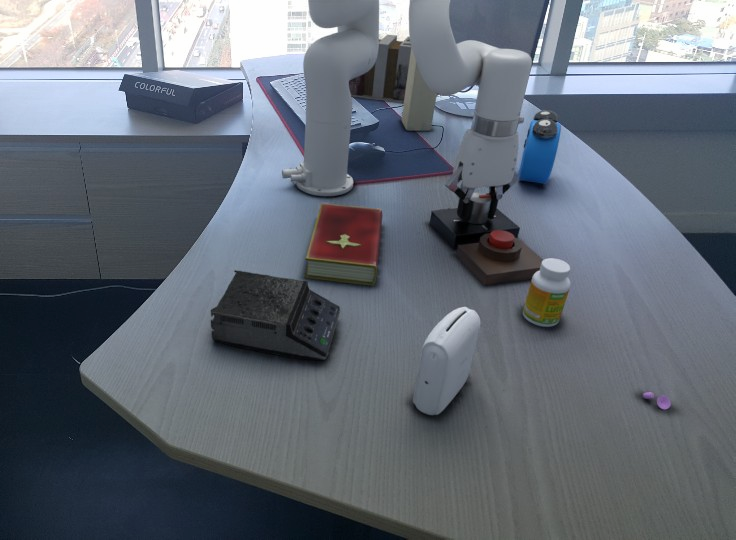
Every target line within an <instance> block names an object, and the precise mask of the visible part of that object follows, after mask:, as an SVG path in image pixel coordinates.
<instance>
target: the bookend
mask: <svg viewBox="0 0 736 540" xmlns="http://www.w3.org/2000/svg"><path fill="white" fill-rule="evenodd" d="M410 54H411V42H410V36H407V37H406V38H405V39H404V40H398V35H397V34H386V35H385V36H384V37H383V38H382V39H381V38H379V48H378V56H377V59H376V62H375V64H374V66H373V67H372V68H371V69H370V70H369V71H368V72H366V73H365V74H363V75H361V76H358V77H356V78H353V79H351V80H349V89H350V93H351V96H352V98H359V99H367V100H374V101H375V100H376V101H384V102H391V103H399V104H400V103H401V104H404V97H405V90H406V83H407V76H408V69H409V61H410Z"/></svg>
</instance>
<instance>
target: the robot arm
mask: <svg viewBox="0 0 736 540" xmlns="http://www.w3.org/2000/svg"><path fill="white" fill-rule="evenodd" d="M307 2H308V12H309V17H310V20H311V21H312V22H313V23H314V25H315V26H317V27H319V28H322V29H335V28H336V29H337V32H334V33H331V34H328V35H325V36H323V37H320V38H318V39H316V40H315V41H314V42H312V43H311V44H310V45H309V47H308V48H307V50H306V51H305V53H304V57H303V61H302V69H303V77H304V85H305V126H304V127H305V128H304V151H303V152H304V153H303V161H302V162H301V161H299V166H296V167H295V168H286V169H284V168H283V169H282V170H281V178H282V179H290V182H295V185H296V187H297V188H298V189H299V190H300V191H302V192H303V193H306V194H309V195H313V196H319V197H335V196H336V197H337V196H341V195H344V194H347V193H349V192H350V191H351V190H352V189H353V188H354V179H353V177H352V175H350V174H348V165H349V154H350V143H351V142H350V141H351V131H352V120H353V119H352V117H353V97H351V93H350V89H349V80H351V79H353V78H356V77H358V76H361V75H363V74H365V73H366V72H368V71H369V70H370V69H371V68H372V67H373V66H374V64H375V62H376V59H377V56H378V48H379V39H380V0H307ZM450 5H451V0H409V5H408V6H409V7H408V34H409V35H408V37H410V42H411V47H412V50H413V54H414V56H415V59H416V62H417V65H418V67H419V70H420V72H421V75H422V77H423V79H424V81H425V82H426V84H427V86H428V87H429V88H430V89H431V90H432V91H433V92H435V93H437V95H439V96H447V97H448V96H452V95H456V94H459V93H460V92H462V91H464V90H466V89H467V88H471V87H474V86H478V88H477V89H478V90H477V95H476V100H475V106H474V112H473V116H472V120H471V121H472V122H471V127H470V128H468V129H466V131H465V132H464V134H463V136H462V139H461V141H460V144H459V147H458V150H457V153H456V157H455V161H454V165H453V170H452V175H451V176H450V178H448V180H447V181H446V182H445V184H444V186H445V187H446V188H447V189H448V190H449V191H451V192H452V193H454V194H455V195H456V197H458V204H457V207H456V208H457V215H458V217H460V218H461V219H462V220H463V221H464V222H468V221H469V217H470V212H471V207H472V203H471V202H470V199H471V197H472V195H473V193H475V190H476V189H480V188H488V193H485V194H490V195H491V199H492V200H491V205H490V209H489V214H488V218H489V219H494V215H495V212H496V209H498V204H499V200H502V198H503V197H504V196H503V195H504V194H506V193H507V192H508V191H509V190H510V189H511V187H513V186H514V185H516V184H517V183H518V182H519V181H520V180H519V177H518V176H519V174H518V173H517V171H516V167H517V161H518V156H519V145H520V144H519V140H520V139H519V138H520V137H519V132H518V131H517V130H518V127H519V125H521V124H523V123H524V122H525V117H524V116H523V115H521V113H522V108H523V106H524V105H523V104H524V100H525V96H526V93H527V92H526V91H527V86H528V82H529V78H530V75H531V69H532V64H533V61H532V57H531V55H530V54H529V53H527V52H526V51H523V50H519V49H513V48H499V47H496V46H494V45H490V44H487V43H485V42H482V41H478V40H474V39H469V40H468V39H467V40H464V41H463V40H462V41H461V42H458V43H457V42H456V39H455V37H454V34H453V29H452V26H451V19H450ZM460 182H461V183H460ZM459 183H460V186H458V184H459Z"/></svg>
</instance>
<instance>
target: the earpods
mask: <svg viewBox="0 0 736 540" xmlns="http://www.w3.org/2000/svg"><path fill="white" fill-rule="evenodd" d="M642 397H643V398H644V399H645V400H652V399H654V398H655V394H654V392H651V391H649V392H647V391H646V392H643V393H642ZM656 404H657V407H659V408H660V409H662V410H668V409H669V408H670V407H671V404H672V403H671V399H670V398H669V397H668V396H667V395H665V394H662V395H659V396H658V397H657V399H656Z"/></svg>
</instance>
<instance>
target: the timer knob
mask: <svg viewBox="0 0 736 540" xmlns="http://www.w3.org/2000/svg"><path fill="white" fill-rule="evenodd" d="M491 200H492V199H491V195H490V194H486V193H483V192H476V191H474V192H473V195H472V197H471V199H470V202H471V203H472V207H471V212H470V217H469V221H468V222H469V223H472V224H483V223H485V222H486V221H487V218H488V214H489V209H490V205H491Z"/></svg>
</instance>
